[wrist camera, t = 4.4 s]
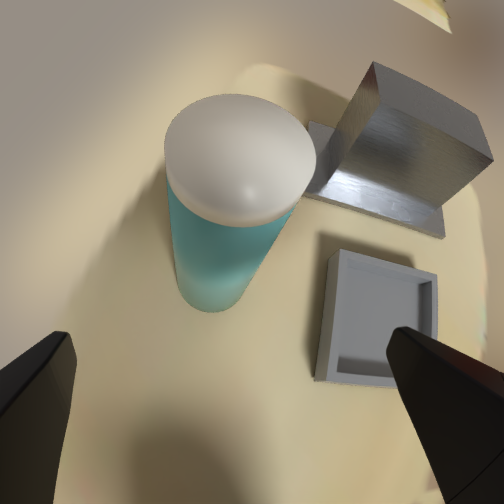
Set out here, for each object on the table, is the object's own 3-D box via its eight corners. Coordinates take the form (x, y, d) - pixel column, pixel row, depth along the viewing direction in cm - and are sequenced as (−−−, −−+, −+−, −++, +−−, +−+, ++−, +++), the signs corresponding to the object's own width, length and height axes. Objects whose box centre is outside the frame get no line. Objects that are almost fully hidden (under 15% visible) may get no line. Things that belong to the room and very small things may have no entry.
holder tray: (417, 389, 20) (433, 388, 18) (313, 381, 19) (325, 380, 17) (422, 282, 24) (437, 274, 22) (328, 259, 23) (339, 248, 21)
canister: (238, 319, 20) (309, 228, 8) (170, 303, 20) (141, 187, 8) (250, 255, 22) (319, 114, 10) (186, 240, 21) (190, 83, 10)
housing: (441, 239, 26) (514, 187, 17) (299, 194, 24) (351, 105, 16) (432, 171, 29) (487, 114, 20) (307, 124, 28) (345, 41, 19)
